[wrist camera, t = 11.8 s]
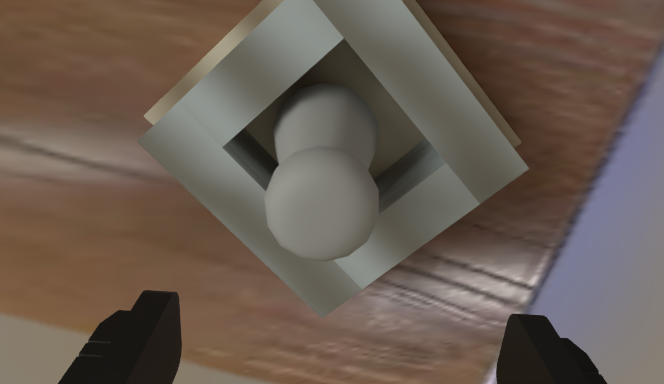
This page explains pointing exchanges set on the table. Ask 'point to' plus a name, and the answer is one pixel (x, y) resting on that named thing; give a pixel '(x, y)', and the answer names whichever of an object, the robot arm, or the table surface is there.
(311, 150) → the salt shaker
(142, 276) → the table surface
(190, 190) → the caddy
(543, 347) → the robot arm
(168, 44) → the table surface
